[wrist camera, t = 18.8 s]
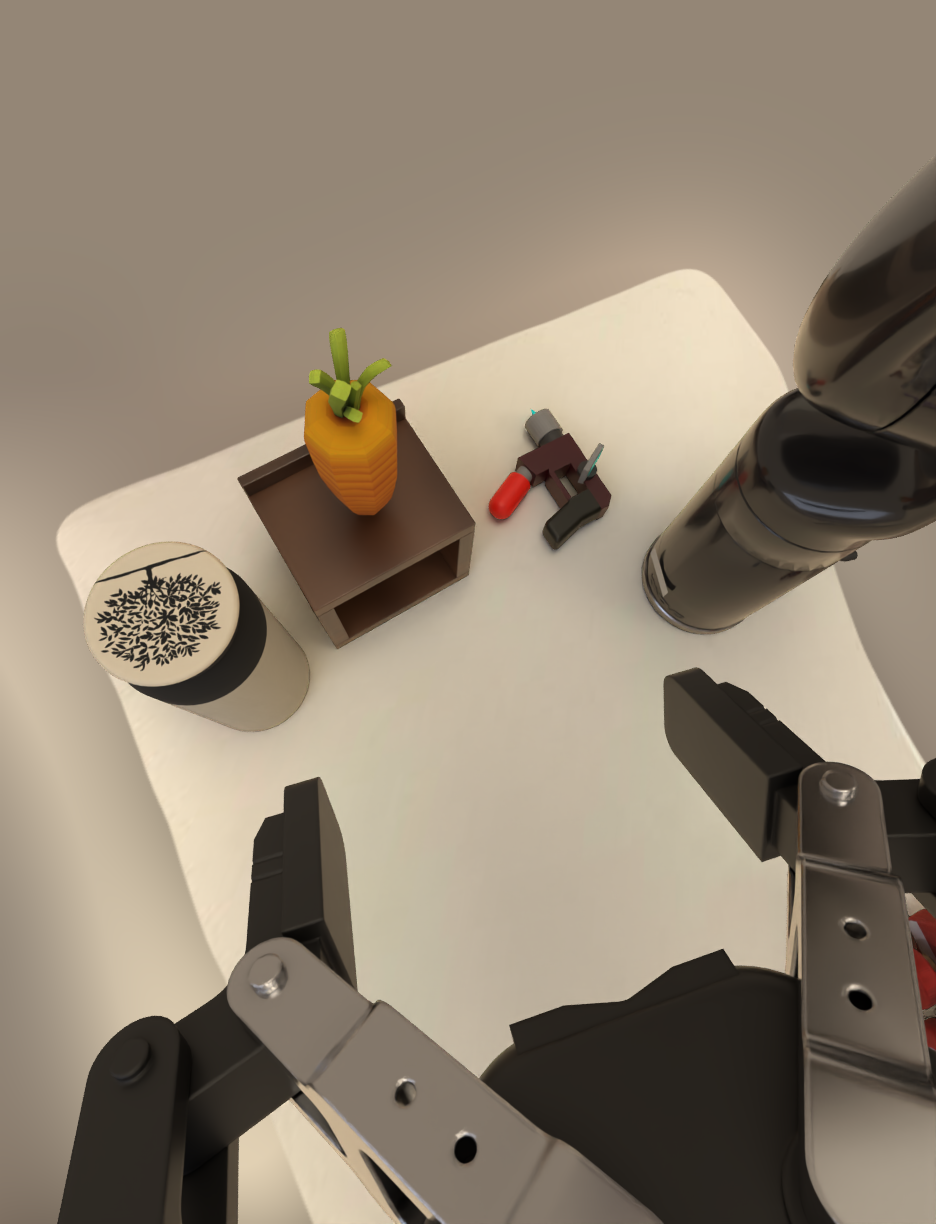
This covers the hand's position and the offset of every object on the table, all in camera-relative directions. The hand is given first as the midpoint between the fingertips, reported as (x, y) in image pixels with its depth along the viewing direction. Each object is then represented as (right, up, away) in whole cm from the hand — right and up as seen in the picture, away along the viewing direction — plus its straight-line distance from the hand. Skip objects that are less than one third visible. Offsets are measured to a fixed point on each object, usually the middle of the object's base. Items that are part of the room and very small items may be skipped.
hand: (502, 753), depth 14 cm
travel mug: (-17, -2, +35) cm, 39 cm away
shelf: (-8, +7, +38) cm, 39 cm away
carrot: (-7, +10, +28) cm, 31 cm away
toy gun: (+5, +14, +40) cm, 43 cm away
